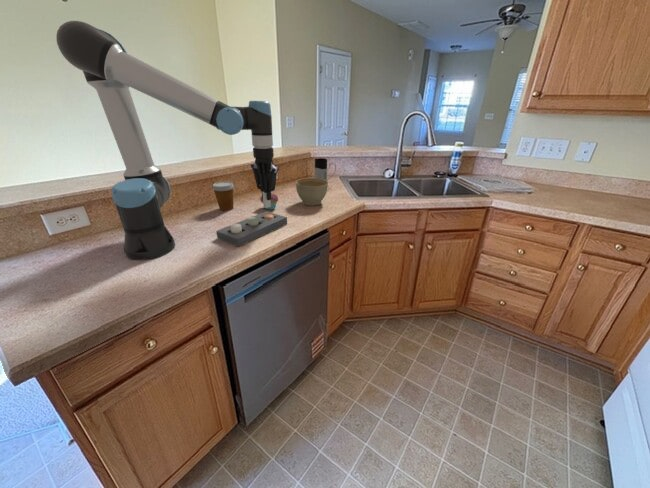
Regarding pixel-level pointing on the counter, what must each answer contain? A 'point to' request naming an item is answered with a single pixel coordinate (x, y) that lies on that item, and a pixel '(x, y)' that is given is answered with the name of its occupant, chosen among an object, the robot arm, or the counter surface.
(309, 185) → the planter bowl
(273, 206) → the cupcake
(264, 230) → the button panel
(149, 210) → the robot arm
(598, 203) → the counter surface
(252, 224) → the sage button
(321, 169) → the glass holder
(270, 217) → the terracotta button
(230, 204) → the disposable coffee cup
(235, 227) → the white rounded piece
